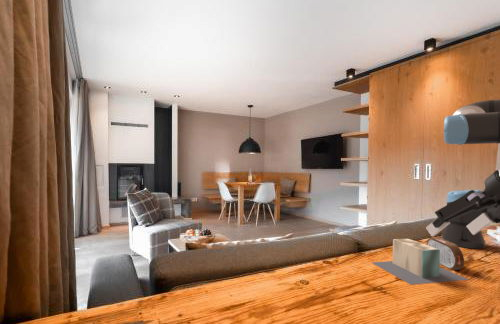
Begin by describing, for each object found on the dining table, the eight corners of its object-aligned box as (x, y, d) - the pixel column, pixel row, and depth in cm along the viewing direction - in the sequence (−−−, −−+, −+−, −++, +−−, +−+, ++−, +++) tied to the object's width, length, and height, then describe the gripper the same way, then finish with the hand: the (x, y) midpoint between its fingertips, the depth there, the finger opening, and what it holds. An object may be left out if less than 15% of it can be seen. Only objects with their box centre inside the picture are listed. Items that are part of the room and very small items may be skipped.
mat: (421, 260, 96) (421, 259, 96) (469, 280, 80) (469, 279, 80) (371, 263, 92) (371, 262, 92) (410, 286, 75) (410, 284, 75)
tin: (465, 274, 85) (465, 247, 85) (454, 274, 85) (455, 246, 85) (433, 257, 100) (433, 234, 100) (424, 257, 100) (425, 234, 100)
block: (408, 238, 93) (439, 249, 82) (407, 262, 93) (439, 276, 81) (393, 239, 92) (423, 250, 80) (392, 263, 92) (422, 277, 80)
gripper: (542, 168, 66) (477, 218, 80) (457, 167, 60) (404, 220, 75) (571, 193, 60) (496, 241, 75) (482, 194, 55) (419, 245, 70)
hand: (450, 231), depth 75 cm, fingers open, 13 cm apart
